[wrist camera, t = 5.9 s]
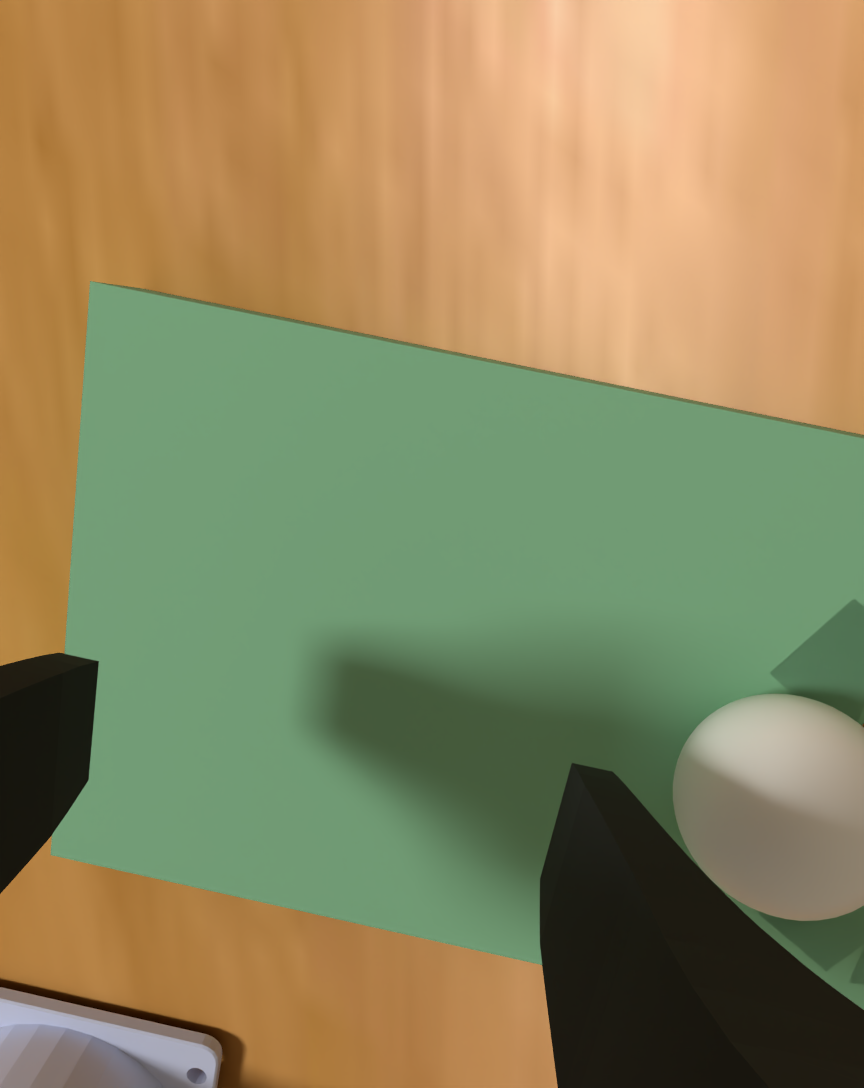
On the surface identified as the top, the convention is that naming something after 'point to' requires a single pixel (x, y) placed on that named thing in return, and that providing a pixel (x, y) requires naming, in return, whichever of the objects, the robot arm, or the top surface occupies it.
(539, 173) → the top surface
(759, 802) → the ball
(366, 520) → the green
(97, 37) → the top surface
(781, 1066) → the robot arm
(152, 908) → the top surface
